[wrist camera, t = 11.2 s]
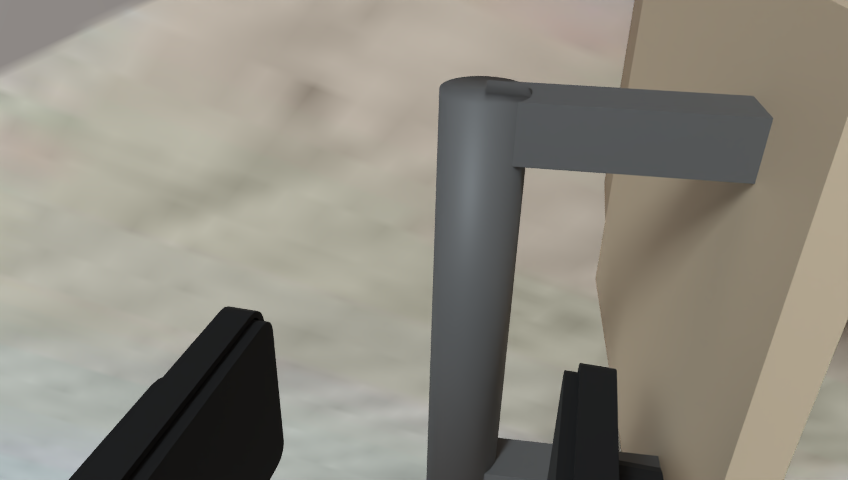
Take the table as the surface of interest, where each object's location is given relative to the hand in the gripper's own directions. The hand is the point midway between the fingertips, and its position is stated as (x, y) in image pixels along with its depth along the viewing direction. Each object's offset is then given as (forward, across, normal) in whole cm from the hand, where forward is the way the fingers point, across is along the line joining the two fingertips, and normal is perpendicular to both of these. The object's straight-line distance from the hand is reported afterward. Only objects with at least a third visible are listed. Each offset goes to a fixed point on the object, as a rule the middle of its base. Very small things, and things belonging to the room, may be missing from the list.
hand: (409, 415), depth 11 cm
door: (+7, -5, 0) cm, 9 cm away
